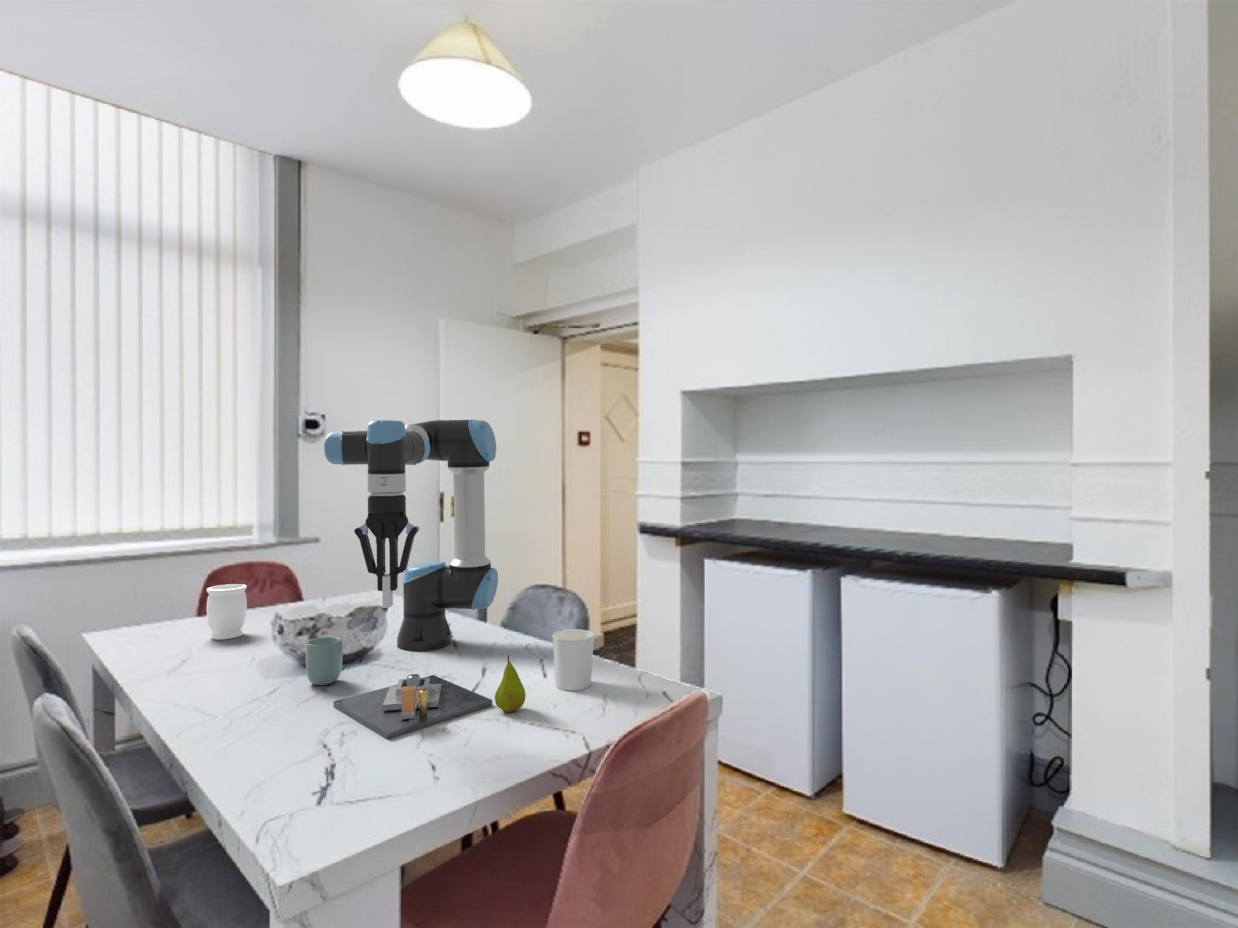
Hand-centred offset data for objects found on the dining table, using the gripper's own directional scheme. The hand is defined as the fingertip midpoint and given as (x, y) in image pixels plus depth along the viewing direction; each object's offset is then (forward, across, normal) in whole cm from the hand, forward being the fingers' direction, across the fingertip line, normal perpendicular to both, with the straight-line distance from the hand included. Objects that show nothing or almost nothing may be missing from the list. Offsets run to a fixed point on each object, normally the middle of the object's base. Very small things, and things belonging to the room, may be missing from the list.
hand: (387, 605), depth 137 cm
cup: (+23, -19, +20) cm, 36 cm away
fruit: (+23, +26, -3) cm, 34 cm away
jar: (+24, -61, +67) cm, 94 cm away
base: (+22, +5, +2) cm, 23 cm away
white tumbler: (+23, +40, +12) cm, 47 cm away
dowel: (+21, +8, -6) cm, 24 cm away
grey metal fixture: (+21, +5, 0) cm, 21 cm away
